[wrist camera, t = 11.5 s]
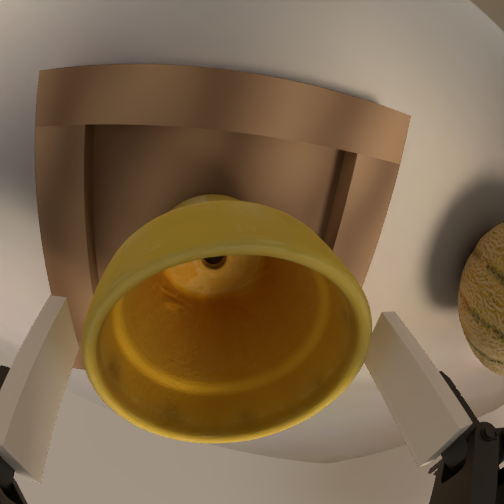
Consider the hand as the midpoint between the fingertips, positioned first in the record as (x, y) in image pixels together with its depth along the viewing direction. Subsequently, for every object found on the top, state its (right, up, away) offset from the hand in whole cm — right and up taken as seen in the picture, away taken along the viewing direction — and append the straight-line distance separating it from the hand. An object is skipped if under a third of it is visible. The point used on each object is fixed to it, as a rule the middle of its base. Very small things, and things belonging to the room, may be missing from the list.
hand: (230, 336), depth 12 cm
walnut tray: (-2, +4, +8) cm, 9 cm away
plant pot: (-1, +4, +7) cm, 8 cm away
